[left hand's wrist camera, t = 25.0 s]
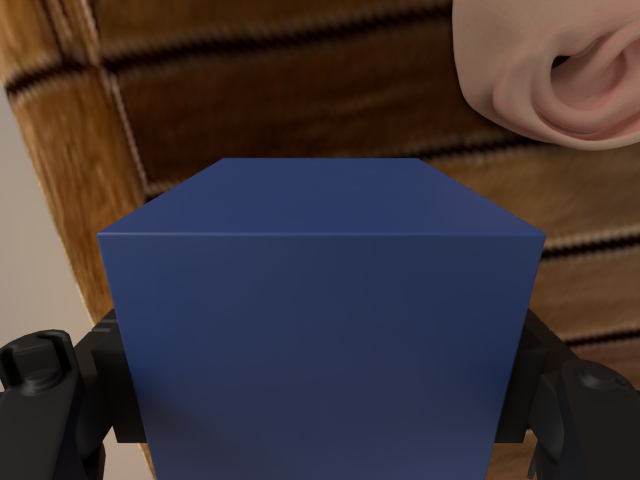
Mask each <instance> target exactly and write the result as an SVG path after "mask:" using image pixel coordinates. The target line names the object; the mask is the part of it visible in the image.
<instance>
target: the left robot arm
mask: <svg viewBox="0 0 640 480" xmlns="http://www.w3.org/2000/svg"><path fill="white" fill-rule="evenodd" d="M0 380H1V382H2V384H3V387H4V389H5V390H4V392H0V480H103V474H104V466H105V457H106V454H105V448H104V444H103V439H104V438H105V436H106V435H107V433H108V432H109V430H110V429H111V427H112V425H113V429H114V432H115V436H116V439H117V442H118V443H147V439H146V434H145V430H144V426H143V422H142V418H141V414H140V410H139V406H138V402H137V398H136V394H135V390H134V386H133V382H132V378H131V374H130V369H129V365H128V361H127V357H126V353H125V349H124V345H123V341H122V337H121V333H120V329H119V325H118V321H117V317H116V313H115V309H114V308H113V309H112V310H111V311H110V312H109V313H108V314H107V315H106V316H105V317H104V318H103V319H102V320H101V322H100V323H98V324H97V325H96V326H95V327H94V328H93V329H92V331H91V332H89V333H88V334H87V335H86V336H85V337H84V338H83V339H82V340H81V341H80V342H79V343H78V344H77V345H76V346H75V347H74V348H73V345H72V342H71V338H70V335H69V334H68V333H66V332H65V331H63V330H54V329H52V330H44V331H38V332H35V333H31V334H28V335H25V336H22V337H20V338H18V339H16V340H13V341H11V342H10V343H8V344H6V345H5V346H3V347H2V348H0ZM528 425H529V426H530V428H531V429H532V431H533V433H534V434H535V436H536V437H537V439H538V441H537V444H536V448H535V451H534V454H533V457H532V461H531V464H530V467H529V470H528V476H527V478H529V479H532V480H533V477H534V474H535V471H536V473H537V480H640V391H639V390H635V388H634V387H633V386H632V384H631V383H630V382H629V381H628V380H627V379H626V378H625V377H623V376H622V375H621V374H619V373H618V372H616V371H614V370H612V369H610V368H608V367H606V366H604V365H602V364H599V363H596V362H593V361H589V360H582V359H580V358H579V357H578V356H577V355H576V354H575V353H574V352H573V351H572V350H571V349H570V348H569V347H567V346H566V345H565V344H564V343H563V342H562V341H561V340H560V339H559V338H558V337H557V336H556V335H555V334H554V333H553V332H552V331H549V328H548V327H547V326H546V325H545V324H544V323H543V322H542V321H540V319H539V318H538V317H537V316H536V315H535V314H534V313H533V312H532V311H531V310H530V309H529V308H528V310H527V313H526V317H525V321H524V325H523V329H522V333H521V337H520V341H519V345H518V349H517V353H516V357H515V361H514V365H513V369H512V373H511V377H510V381H509V385H508V389H507V393H506V397H505V401H504V405H503V409H502V413H501V417H500V421H499V425H498V429H497V433H496V437H495V441H494V443H523V440H524V437H525V433H526V430H527V426H528Z"/></svg>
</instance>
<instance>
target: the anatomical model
mask: <svg viewBox="0 0 640 480" xmlns="http://www.w3.org/2000/svg"><path fill="white" fill-rule="evenodd" d="M452 23H453V44H454V57H455V63H456V68H457V73H458V78H459V83H460V87H461V90H462V93H463V96H464V98H465V99H466V101H467V102H468V104H469V105H470V106H471V107H472V108H473V109H474V110H475V111H477V112H478V113H479V114H481V115H482V116H484V117H486V118H488V119H489V120H491V121H493V122H494V123H496V124H498V125H500V126H502V127H504V128H506V129H508V130H511V131H513V132H515V133H518V134H520V135H523V136H525V137H528V138H531V139H534V140H538V141H543V142H547V143H556V144H558V145H561V146H564V147H568V148H572V149H578V150H588V151H596V150H607V149H613V148H618V147H623V146H627V145H630V144H633V143H637V142H640V0H453V13H452Z"/></svg>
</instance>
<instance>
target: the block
mask: <svg viewBox="0 0 640 480" xmlns="http://www.w3.org/2000/svg"><path fill="white" fill-rule="evenodd" d="M545 238H546V234H545V233H544V232H543V231H541V230H539V229H537V228H536V227H534V226H532V225H531V224H529V223H527V222H525V221H524V220H522V219H520V218H519V217H517V216H515V215H513V214H512V213H510V212H508V211H507V210H505V209H503V208H502V207H500V206H498V205H496V204H495V203H493V202H491V201H490V200H488V199H486V198H484V197H483V196H481V195H479V194H478V193H476V192H474V191H472V190H471V189H469V188H467V187H466V186H464V185H462V184H461V183H459V182H457V181H455V180H454V179H452V178H450V177H449V176H447V175H445V174H443V173H442V172H440V171H438V170H437V169H435V168H433V167H431V166H430V165H428V164H426V163H425V162H423V161H421V160H420V159H418V158H223V159H221V160H220V161H218V162H216V163H215V164H213V165H211V166H210V167H208V168H206V169H204V170H203V171H201V172H199V173H198V174H196V175H194V176H193V177H191V178H189V179H187V180H186V181H184V182H182V183H181V184H179V185H177V186H176V187H174V188H172V189H171V190H169V191H167V192H165V193H164V194H162V195H160V196H159V197H157V198H155V199H154V200H152V201H150V202H149V203H147V204H145V205H143V206H142V207H140V208H138V209H137V210H135V211H133V212H132V213H130V214H128V215H127V216H125V217H123V218H121V219H120V220H118V221H116V222H115V223H113V224H111V225H110V226H108V227H106V228H104V229H103V230H101V231H99V232H98V233H97V240H98V244H99V248H100V252H101V256H102V260H103V264H104V268H105V272H106V276H107V280H108V284H109V288H110V292H111V296H112V300H113V304H114V309H115V313H116V317H117V321H118V325H119V329H120V333H121V337H122V341H123V345H124V349H125V353H126V357H127V361H128V365H129V369H130V374H131V378H132V382H133V386H134V390H135V394H136V398H137V402H138V406H139V410H140V414H141V418H142V422H143V426H144V430H145V434H146V439H147V443H148V447H149V451H150V455H151V459H152V463H153V467H154V471H155V475H156V479H157V480H485V477H486V473H487V469H488V465H489V461H490V457H491V453H492V449H493V445H494V441H495V437H496V433H497V429H498V425H499V421H500V417H501V413H502V409H503V405H504V401H505V397H506V393H507V389H508V385H509V381H510V377H511V373H512V369H513V365H514V361H515V357H516V353H517V349H518V345H519V341H520V337H521V333H522V329H523V325H524V321H525V317H526V313H527V310H528V306H529V302H530V298H531V294H532V290H533V286H534V282H535V278H536V274H537V270H538V266H539V262H540V258H541V254H542V250H543V246H544V242H545Z"/></svg>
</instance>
